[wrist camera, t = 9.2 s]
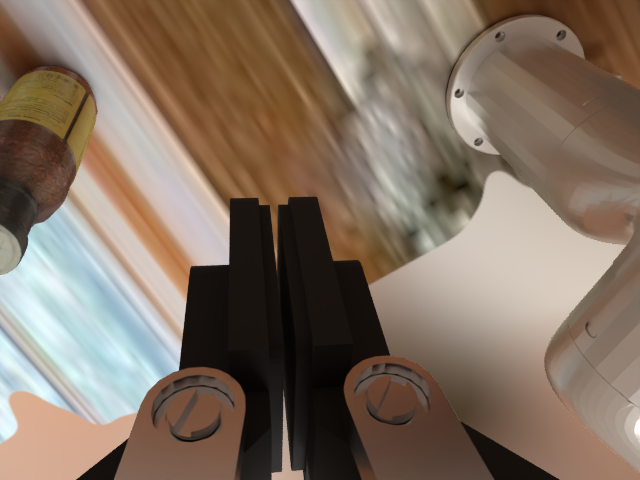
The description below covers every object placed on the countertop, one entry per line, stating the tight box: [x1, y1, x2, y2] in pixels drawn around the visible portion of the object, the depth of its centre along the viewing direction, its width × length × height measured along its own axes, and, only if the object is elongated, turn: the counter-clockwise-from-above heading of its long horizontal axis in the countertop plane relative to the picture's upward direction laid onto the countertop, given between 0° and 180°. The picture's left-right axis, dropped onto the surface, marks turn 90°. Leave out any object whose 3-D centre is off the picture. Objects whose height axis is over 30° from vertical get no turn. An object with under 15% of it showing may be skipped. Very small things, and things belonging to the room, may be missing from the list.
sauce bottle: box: [0, 66, 97, 275], centre depth 36 cm, size 6×6×20 cm
